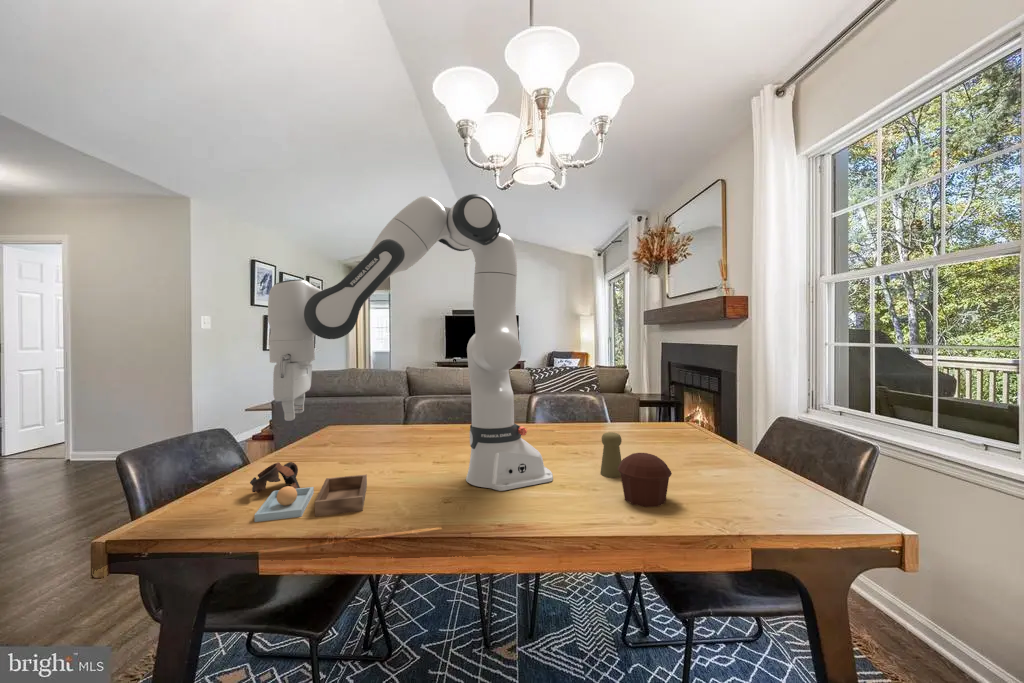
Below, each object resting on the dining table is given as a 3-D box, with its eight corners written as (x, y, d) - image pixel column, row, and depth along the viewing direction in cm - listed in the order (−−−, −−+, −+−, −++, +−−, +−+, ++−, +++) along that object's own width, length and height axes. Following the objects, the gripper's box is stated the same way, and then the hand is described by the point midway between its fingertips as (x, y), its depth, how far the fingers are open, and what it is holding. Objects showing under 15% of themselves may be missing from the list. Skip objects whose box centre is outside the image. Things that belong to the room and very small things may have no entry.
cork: (626, 477, 109) (625, 435, 109) (602, 477, 109) (602, 435, 109) (620, 470, 115) (620, 430, 115) (598, 470, 115) (597, 430, 115)
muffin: (682, 501, 93) (681, 456, 93) (653, 514, 86) (652, 465, 86) (637, 486, 102) (636, 445, 102) (607, 497, 96) (606, 453, 96)
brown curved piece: (291, 502, 97) (269, 474, 95) (258, 518, 98) (236, 491, 96) (315, 473, 108) (297, 447, 106) (286, 487, 110) (267, 462, 108)
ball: (298, 504, 94) (299, 485, 95) (294, 504, 90) (295, 485, 91) (278, 506, 93) (279, 487, 94) (273, 507, 89) (275, 487, 90)
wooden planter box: (366, 488, 103) (366, 474, 103) (362, 513, 88) (362, 496, 88) (326, 492, 101) (326, 478, 101) (315, 519, 86) (314, 502, 86)
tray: (313, 495, 99) (313, 486, 99) (301, 519, 86) (301, 509, 86) (273, 499, 97) (273, 490, 97) (254, 524, 84) (254, 514, 84)
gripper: (298, 354, 84) (301, 423, 84) (315, 352, 103) (317, 408, 103) (262, 355, 82) (265, 426, 82) (287, 353, 102) (289, 410, 102)
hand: (294, 416), depth 93 cm, fingers open, 8 cm apart
